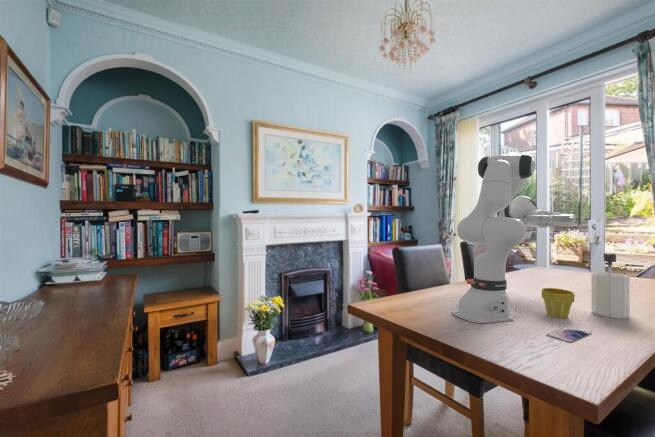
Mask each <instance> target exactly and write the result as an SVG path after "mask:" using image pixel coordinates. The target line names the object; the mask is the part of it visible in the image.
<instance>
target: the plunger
mask: <svg viewBox="0 0 655 437" xmlns="http://www.w3.org/2000/svg"><path fill="white" fill-rule="evenodd" d="M603 262H606V263H607V272H608V276H612V273H613V263H616V262H617V254H616V253H605V252H604V253H603Z"/></svg>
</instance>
